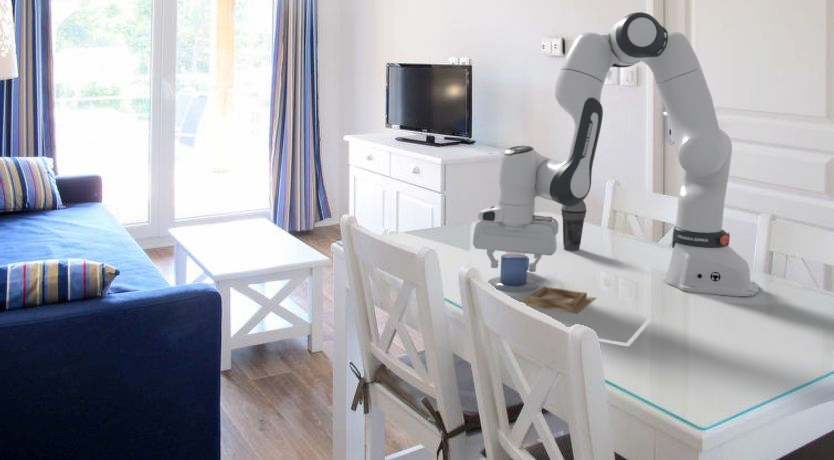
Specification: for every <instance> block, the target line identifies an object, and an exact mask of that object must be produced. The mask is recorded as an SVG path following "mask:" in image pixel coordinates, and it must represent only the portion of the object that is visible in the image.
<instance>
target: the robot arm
mask: <svg viewBox="0 0 834 460" xmlns="http://www.w3.org/2000/svg"><path fill="white" fill-rule="evenodd" d="M640 62H643V63H644V64H646V65H647V66H648V68H649V69H650V70H651V72H652V73H653V77H654V81H655V83H656V87H657V88H658V92H659V95H660V97H661V100H662V103H663V106H664V109H665V111H666V114H667V118H668V122H669V126H670V130H671V131H670V132H671V137H672V140H673V143H674V147H675V151H676V155H677V157H678V158H677V159H678V162H679V164H680V166H681V167H682V169H683V171H682V177H681V183H680V188H679V191H678V195H677V208H676V220H675V226H673V231H672V235H671V236H672V239H671V244H672V245H671V248H672V251H671V257H670V261H669V265H668V268H667V271H666V273H665V277H664V279H663V280H664V281H665V283H667V284H669V285H671V286H674V287H677V288H678V289H679V290H681V291H684V292H689V293H690V292H691V293H701V294H708V295H709V294H711V295H712V294H713V295H722V296H730V297H732V296H733V297H740V296H748V297H751V296H750V295H752V294H754V293H756V292H757V290H758V291H759V289H758V288H759V283H758V282H757V281H755V280H751V272H750V267H749V266H750V265H749V263H748V261H746V259H744V258H743V257H742V256H741V255H739V254H738V253H737V252H736V251H735V250H734V249H733V248H732V247H730V239H731V238H730V237H731V236H730V235H731V233H730V232H726V231H725V230H724V229H723V222H724V221H723V220H724V212H725V211H724V210H725V202H726V201H725V200H726V194H727V188H728V187H727V186H728V182H729V174H730V169H731V160H732V152H733V144H732V141H731V138H730V136H729V135H728V134H727V133H726V132H725V131H724V130H723V129H721V128H720V126H719V122H718V119H717V114H716V111H715V106H714V101H713V97H712V94H711V91H710V88H709V87H708V83H707V80H706V77H705V74H704V72H703V69H702V66H701V63H700V61H699V59H698V57H697V54H696V52H695V50H694V48H693V47H692V44H691V43H690V41H689V40H688V38H687V37H686V36H685V35H684V33H681V32H678V31H669V32H668V30H667V29H666V28H665V27H664V26H662V25H661V24H660V23H659V21H658V20H657V19H656V18H655V17H654V16H653V15H651V14H649V13H646V12H641V11H640V12H638V11H637V12H632V13H629V14H627V15H626V16H623V18H621V19H619V20H618V21H617V22H616V23H614V24H613V26H612V27H611V28H609V30H607V32H606V33H604V34H599V33H597V32H584V33H581V34H579V35H578V36H577V37H576V38H575V40H574V41H573V43H572V45H571V46H570V48H569V50H568V52H567V54H566V56H565V58H564V61H563V63H562V65H561V68H560V71H559V72H558V73H559V74H558V76H557V79H556V81H555V88H554V96H555V99H556V102H557V103H558V104H559V106H560V107H561V109H562V110H563V111H565V112H566V113H567V114H568V115H569V116H570V117H571V118H572V119H573V122H574V131H573V134H572V139H571V145H570V149H569V153H568V156H567V159H566V160H565V161H559V160H557V159H551V158H549V157H546V156H544V155H542V154H541V153H539V152H537V151H536V150H535V148H534V147H533V146H530V145H516V146H512V147H509V148H506V149H505V150H504V151H503V153H502V156H501V158H500V163H499V173H498V186H499V195H498V199H497V205H491V206H488V207H485V208H483V209H481V210H480V211H479V212H478V217H477V218H478V220H479V221H477V222H476V223H475V226H474V229H473V238H472V245H473V247H474V249H475V250H476V249H477V250H486V255H487V257H488V258H489V260H490V268H491V269H497V268H498V267H499V259H496V257H495V256H494V253H495V251H498V252H505V251H506V252H517V253H525V254H527V255H528V254H529V255H530V254H531V255H533V258H534V259H535V261H534V262H531V263H530V262H529V270H528V271H529V272H530V273H532V272H533V273H536V272H537V264H538V263H539V261H540V260H541V258H542V256H548V257H549V256H553V255H554V254H555V253H556V252H557V245H558V244H557V235H558V233H559V222H558V220H557V219H555V218H553V216H543V215H537V214H536V215H535V206H536V205H535V203H536V202H535V201H536V199H535V198H537V197H539V198H542V199H545V200H549V201H553V202H556V203H557V204H559V205H561V206H562V205H565V206H568V207H571V206H575V205H577V204H579V203H581V202H582V201H584V200H585V199H586V198H587V196H588V195H589V193H590V190H591V186H592V173H593V166H594V160H595V155H596V151H597V145H598V141H599V139H600V137H599V136H600V132H601V128H602V123H603V122H602V121H603V114H604V109H603V105H602V104H601V96H602V91H603V88H604V85H605V81H606V78H607V75H608V73H609V71H610V69H611V68H629V67H632V66H634V65H636V64H638V63H640ZM757 293H758V292H757ZM757 293H756V294H757ZM752 296H753V295H752Z"/></svg>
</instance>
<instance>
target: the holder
mask: <svg viewBox="0 0 834 460" xmlns="http://www.w3.org/2000/svg"><path fill="white" fill-rule="evenodd" d="M596 299H597V297H593V296H588V293H587V292H584V291H577V290H572V289H571V290H570V289H565V288H557V287H554V286H553V287H552V286H551V287H550V286H546V285H544V286H542V287H540V288H539V289H537V290H536V291H534V292H533V293H531V294H530V295H529V296H527V297H526V298H524V299H523V300H521V301H520V302H523V303H525V304H526V305H525V306H528V305H529V306H528V307H534V308H539V309H540V308H541V309H546V310H553V311H558V312H564V313H565V312H566V313H570V314H571V313H572V314H576V315H578V314H579V313H580V312H581V311H583V310H584V309H585V308H586V307H587V306H589V305H590V304H591V303H592V302H593V301H594V300H596Z"/></svg>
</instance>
